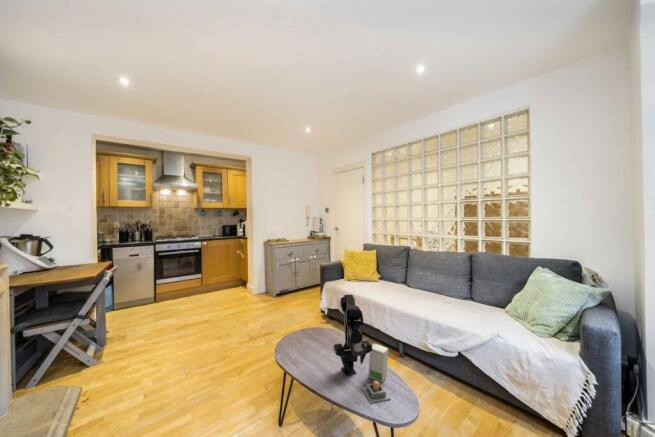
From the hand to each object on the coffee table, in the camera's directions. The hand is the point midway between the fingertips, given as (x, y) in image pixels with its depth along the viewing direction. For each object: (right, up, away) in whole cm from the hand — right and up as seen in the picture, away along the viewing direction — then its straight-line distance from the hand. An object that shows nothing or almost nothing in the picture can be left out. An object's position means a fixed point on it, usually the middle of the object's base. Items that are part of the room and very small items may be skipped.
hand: (352, 364), depth 123 cm
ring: (+11, -12, -3) cm, 16 cm away
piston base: (+11, -12, -3) cm, 17 cm away
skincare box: (+15, -13, +10) cm, 22 cm away
